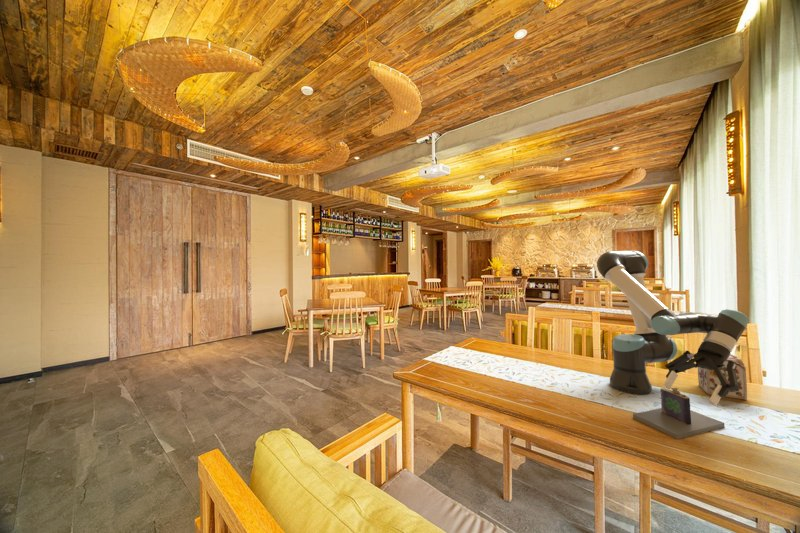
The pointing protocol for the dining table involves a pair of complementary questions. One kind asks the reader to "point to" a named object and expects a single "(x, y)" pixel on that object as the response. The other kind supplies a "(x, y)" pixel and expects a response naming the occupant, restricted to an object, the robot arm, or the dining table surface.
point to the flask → (675, 405)
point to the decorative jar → (711, 381)
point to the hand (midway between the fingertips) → (687, 394)
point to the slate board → (678, 423)
